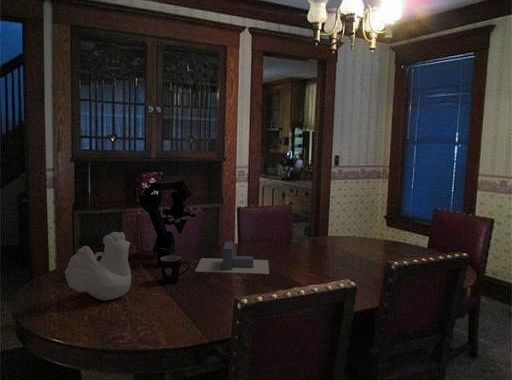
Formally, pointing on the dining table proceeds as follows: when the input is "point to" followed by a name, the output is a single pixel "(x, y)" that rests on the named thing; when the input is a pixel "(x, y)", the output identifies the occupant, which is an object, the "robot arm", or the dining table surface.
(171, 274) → the coffee mug
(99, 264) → the decorative rooster
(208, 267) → the t mat
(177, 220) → the robot arm
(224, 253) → the t block
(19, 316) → the dining table surface
